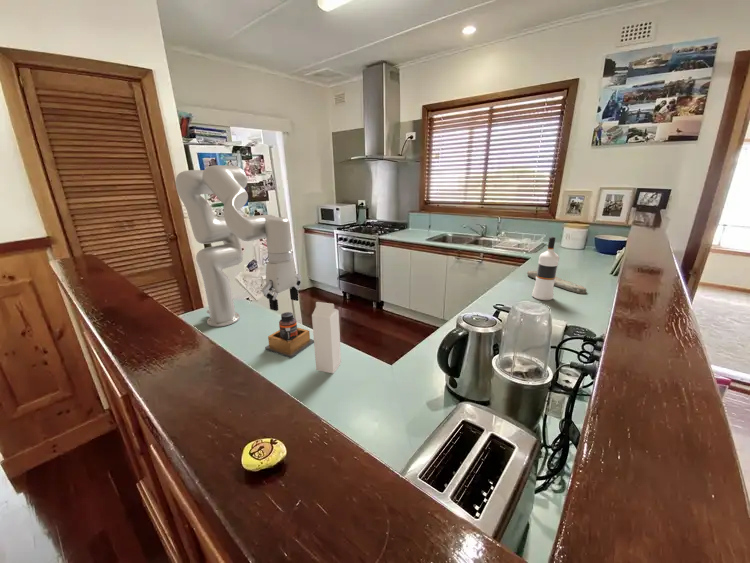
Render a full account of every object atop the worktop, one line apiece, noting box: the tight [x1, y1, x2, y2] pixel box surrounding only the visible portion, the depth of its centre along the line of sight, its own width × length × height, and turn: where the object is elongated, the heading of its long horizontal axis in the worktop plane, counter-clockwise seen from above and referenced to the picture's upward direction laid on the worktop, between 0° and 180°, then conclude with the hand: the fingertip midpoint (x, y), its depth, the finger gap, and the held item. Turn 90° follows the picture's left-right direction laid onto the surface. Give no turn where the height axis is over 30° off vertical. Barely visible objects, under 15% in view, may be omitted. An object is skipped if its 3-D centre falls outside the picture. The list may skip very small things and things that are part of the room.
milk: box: [311, 301, 342, 374], centre depth 96 cm, size 6×6×22 cm
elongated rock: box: [526, 270, 587, 295], centre depth 173 cm, size 35×5×10 cm
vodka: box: [531, 236, 560, 301], centre depth 149 cm, size 9×9×30 cm
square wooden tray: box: [265, 327, 314, 359], centre depth 111 cm, size 12×12×5 cm
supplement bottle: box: [278, 311, 298, 341], centre depth 110 cm, size 6×6×11 cm
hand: (284, 304), depth 107 cm, fingers open, 9 cm apart
